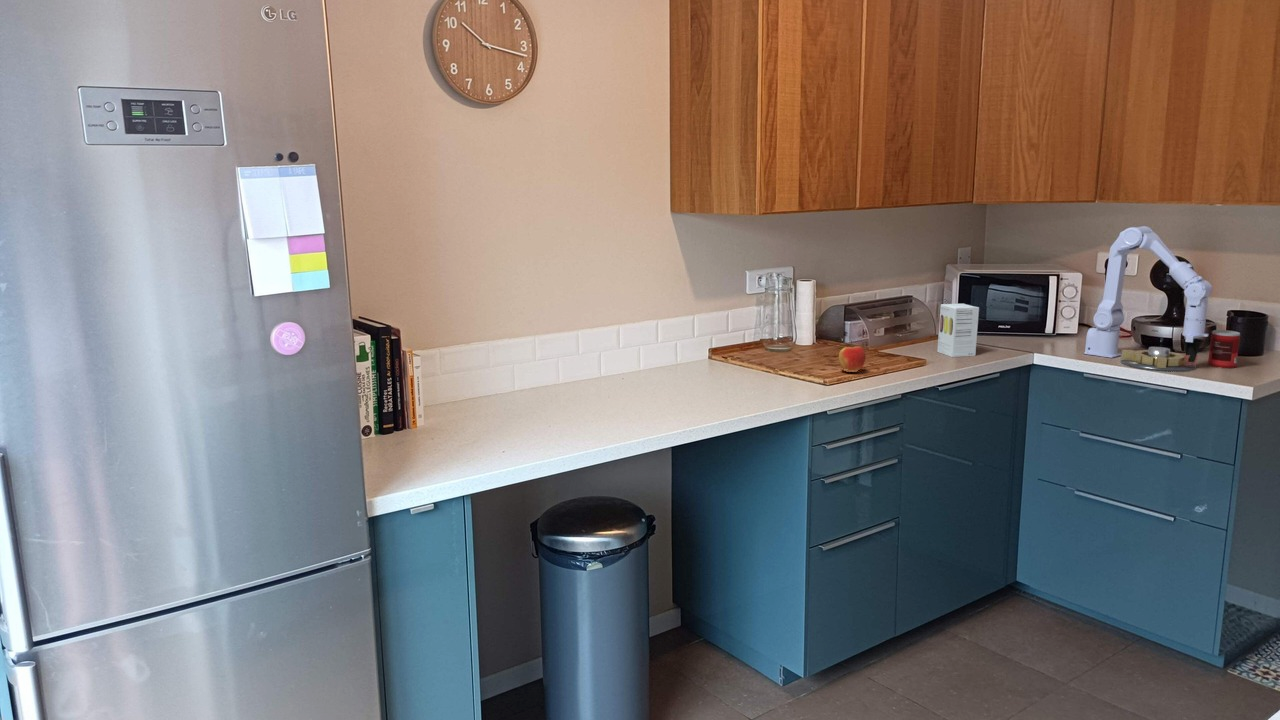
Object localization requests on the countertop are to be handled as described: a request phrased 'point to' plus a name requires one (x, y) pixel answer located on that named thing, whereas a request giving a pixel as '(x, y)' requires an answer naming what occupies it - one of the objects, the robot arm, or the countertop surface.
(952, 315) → the supplement box
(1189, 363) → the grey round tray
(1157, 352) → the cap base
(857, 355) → the apple
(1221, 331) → the canned food
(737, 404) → the countertop surface
